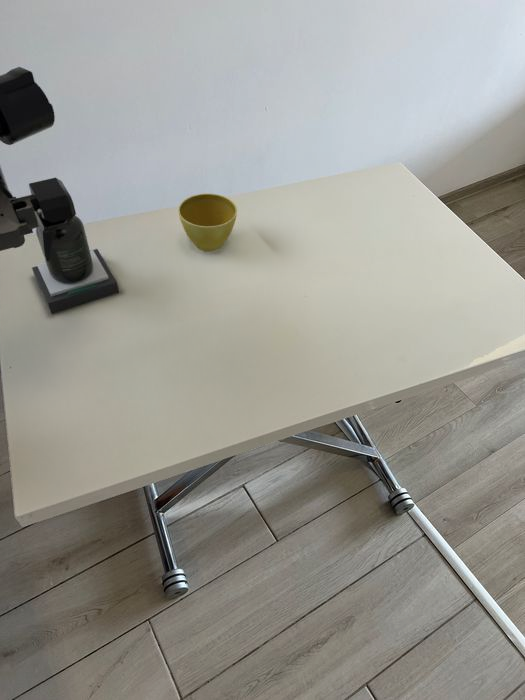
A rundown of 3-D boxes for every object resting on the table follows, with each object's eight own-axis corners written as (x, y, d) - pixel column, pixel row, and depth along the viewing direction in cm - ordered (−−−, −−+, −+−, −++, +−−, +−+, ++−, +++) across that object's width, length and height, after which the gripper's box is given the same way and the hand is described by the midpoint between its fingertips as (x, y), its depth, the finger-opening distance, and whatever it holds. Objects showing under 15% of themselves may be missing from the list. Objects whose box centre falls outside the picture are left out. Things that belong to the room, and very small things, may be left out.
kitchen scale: (51, 314, 83) (46, 300, 81) (35, 278, 88) (30, 264, 86) (119, 292, 87) (116, 278, 85) (99, 259, 92) (96, 245, 90)
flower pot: (246, 251, 96) (247, 217, 90) (194, 266, 92) (192, 232, 87) (222, 221, 101) (221, 188, 96) (172, 235, 98) (169, 201, 93)
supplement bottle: (47, 261, 87) (26, 197, 78) (90, 254, 88) (74, 190, 80) (52, 288, 83) (30, 223, 74) (97, 279, 84) (81, 215, 75)
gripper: (-119, 220, 51) (-54, 332, 62) (75, 175, 57) (101, 284, 69) (-130, 165, 57) (-69, 276, 68) (47, 131, 64) (75, 237, 75)
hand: (12, 269), depth 70 cm, fingers open, 9 cm apart
